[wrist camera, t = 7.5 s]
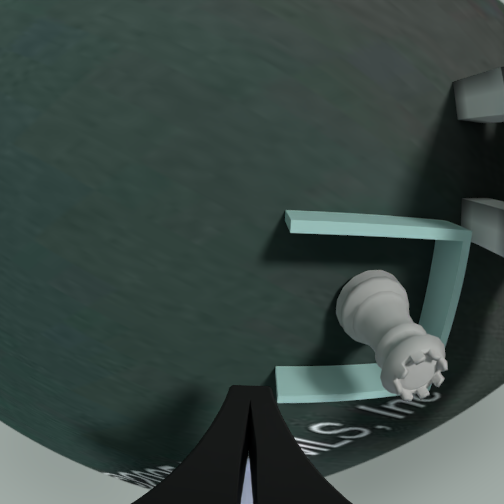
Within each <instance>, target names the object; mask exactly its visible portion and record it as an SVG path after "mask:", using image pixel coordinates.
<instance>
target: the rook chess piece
mask: <svg viewBox="0 0 504 504" xmlns="http://www.w3.org/2000/svg"><path fill="white" fill-rule="evenodd" d="M336 315H337V318H338V320H339V323H340V325H341V326H342V327H343V329H344V331H345V332H346V333H347V334H348V335H349V336H350V337H351V338H352V339H354V340H355V341H357V342H361V343H363V344H367V345H369V346H370V347H371V348H372V349H373V350H374V351H375V353H376V354H375V359H376V362H377V365H378V366H379V367H380V368H381V369H382V371H381V376H380V378H381V382H382V386H383V387H384V388H385V389H386V390H387V391H388V392H390V393H393V394H397V396H398V395H400V396H401V398H402V400H403V401H409V402H411V401H412V399H413V395H412V394H417V395H418V396H419V398H420V400H421V399H423V398H425V397H427V396H429V395H430V393H429V391H428V390H427V388H428V387H429V386H430V385H431V384H432V383H434V385H435V386H437V387H439V386H440V385H441V383H442V382H443V381H444V379H445V378H444V377H443V376H442V374H441V371H442V372H443V371H446V370H448V365H447V361H446V360H445V347H444V344H443V343H442V341H441V340H440V339H439V338H438V337H436V336H433V335H430V334H427V333H426V331H425V330H424V328H423V327H422V326H421V325H418V324H415V323H413V321H412V319H411V317H410V315H409V302H408V297H407V293H406V290H405V289H404V288H403V286H402V285H401V284H400V283H399V281H398V280H397V279H396V278H395V277H394V275H392V274H390V273H388V272H385V271H383V270H368V271H365V272H363V273H361V274H359V275H357V276H354V277H353V278H352V279H351V280H350V281H349V282H348V283H347V284H346V285H345V286H344V287H343V289H342V291H341V293H340V295H339V297H338V299H337V305H336Z"/></svg>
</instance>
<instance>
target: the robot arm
mask: <svg viewBox="0 0 504 504" xmlns="http://www.w3.org/2000/svg"><path fill="white" fill-rule="evenodd" d="M248 451H249V458H248ZM247 458H248V459H247ZM131 504H352V503H351V502H350V501H348V500H347V499H346V498H345V497H344V496H343V495H342V494H341V493H339V492H338V491H337V490H336V489H335V488H334V487H333V486H332V485H331V484H330V483H329V482H328V481H327V480H326V479H325V478H324V477H323V476H322V475H321V473H320V472H319V471H318V470H317V469H316V468H315V467H314V465H313V464H312V463H311V462H310V460H309V459H308V458H307V456H306V455H305V454H304V452H303V451H302V449H301V448H300V446H299V445H298V443H297V442H296V440H295V439H294V437H293V435H292V434H291V432H290V430H289V428H288V427H287V425H286V423H285V421H284V419H283V417H282V415H281V413H280V411H279V408H278V406H277V404H276V401H275V398H274V395H273V391H272V388H270V387H269V386H242V385H232V386H231V387H230V388H229V391H228V394H227V396H226V399H225V401H224V403H223V405H222V407H221V409H220V411H219V412H218V414H217V416H216V418H215V419H214V421H213V423H212V424H211V426H210V427H209V429H208V430H207V432H206V433H205V434H204V436H203V437H202V439H201V440H200V441H199V443H198V444H197V445H196V447H195V448H194V449H193V450H192V451H191V453H190V454H189V455H188V456H187V457H186V458H185V459H184V460H183V462H182V463H181V464H180V465H179V466H178V467H177V468H176V469H175V470H174V471H172V472H171V473H170V474H169V475H168V476H167V477H166V478H165V479H164V480H163V481H161V482H160V483H159V484H158V485H157V486H155V487H154V488H153V489H151V490H150V491H149V492H147V493H146V494H145V495H143V496H142V497H140V498H139V499H138V500H136V501H135V502H133V503H131Z"/></svg>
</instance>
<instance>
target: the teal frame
mask: <svg viewBox="0 0 504 504" xmlns="http://www.w3.org/2000/svg"><path fill="white" fill-rule="evenodd" d="M285 222H286V224H287V227H288V229H289V231H290V233H307V234H333V235H356V236H378V237H398V238H417V239H435V246H434V253H433V259H432V264H431V270H430V275H429V280H428V285H427V290H426V295H425V299H424V304H423V308H422V312H421V316H420V320H419V324H418V325H421V326H422V327H423V328H424V330H425V331H426V333H427V334H430V335H433V336H436V337H438V338H439V339H440V340H441V341H442V343H443V344H444V347H445V346H446V343H447V340H448V337H449V333H450V330H451V327H452V323H453V320H454V316H455V312H456V309H457V305H458V301H459V297H460V293H461V289H462V284H463V280H464V275H465V270H466V265H467V260H468V255H469V249H470V244H471V237H472V231H471V230H469V229H466V228H464V227H461V226H459V225H456V224H454V223H451V222H449V221H446V220H436V219H425V218H413V217H400V216H386V215H372V214H356V213H338V212H319V211H297V210H285ZM381 371H382V369H381V368H380V367H379V366H378V365H377V363H373V364H357V365H335V366H276V368H275V379H276V393H277V403H311V402H333V401H349V400H361V399H372V398H381V397H390V396H397V394H393V393H390V392H388V391H387V390H386V389H385V388H384V387H383V386H382V382H381V378H380V376H381ZM431 385H432V384H431ZM431 385H430V386H429V387H428V388H427V390H428V391H429V390H430V388H431Z"/></svg>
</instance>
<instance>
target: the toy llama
mask: <svg viewBox="0 0 504 504" xmlns="http://www.w3.org/2000/svg"><path fill="white" fill-rule="evenodd" d="M453 88H454V94H455V101H456V109H457V118H458V120H464V121H472V122H479V123H496V122H504V67H500V68H497V69H493V70H490V71H487V72H483V73H480V74H477V75H473V76H470V77H467V78H464V79H461V80H457V81H454V82H453ZM461 227H464V228H466V229H469V230H471V231H472V237H471V242H473V243H475V244H477V245H479V246H481V247H484V248H486V249H488V250H490V251H492V252H494V253H496V254H498V255H500V256H502V257H504V202H503V201H499V200H495V199H491V198H462V201H461Z"/></svg>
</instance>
